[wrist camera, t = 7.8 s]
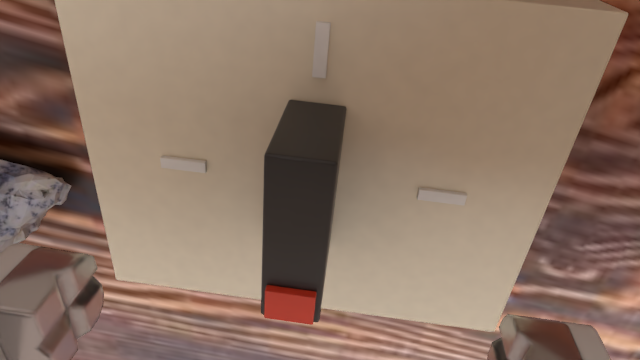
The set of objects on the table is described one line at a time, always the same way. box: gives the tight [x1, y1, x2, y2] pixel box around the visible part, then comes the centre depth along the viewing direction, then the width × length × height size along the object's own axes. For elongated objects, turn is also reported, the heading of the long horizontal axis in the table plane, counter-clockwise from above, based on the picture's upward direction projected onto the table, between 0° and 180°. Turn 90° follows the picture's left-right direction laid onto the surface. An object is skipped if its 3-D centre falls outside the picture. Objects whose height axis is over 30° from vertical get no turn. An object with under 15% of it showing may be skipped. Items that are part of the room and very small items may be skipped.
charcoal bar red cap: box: [261, 100, 347, 324], centre depth 12 cm, size 5×2×3 cm, turn 175°
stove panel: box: [54, 0, 628, 332], centre depth 15 cm, size 14×11×3 cm
